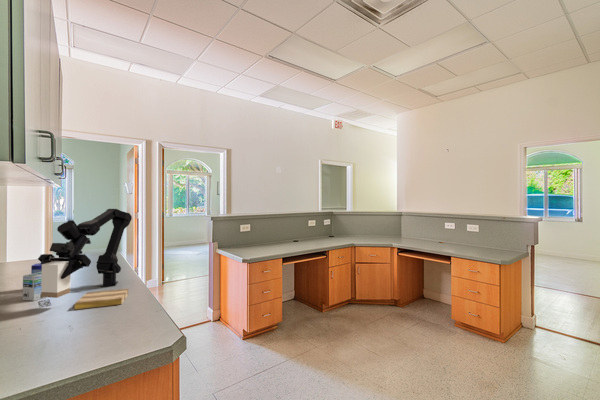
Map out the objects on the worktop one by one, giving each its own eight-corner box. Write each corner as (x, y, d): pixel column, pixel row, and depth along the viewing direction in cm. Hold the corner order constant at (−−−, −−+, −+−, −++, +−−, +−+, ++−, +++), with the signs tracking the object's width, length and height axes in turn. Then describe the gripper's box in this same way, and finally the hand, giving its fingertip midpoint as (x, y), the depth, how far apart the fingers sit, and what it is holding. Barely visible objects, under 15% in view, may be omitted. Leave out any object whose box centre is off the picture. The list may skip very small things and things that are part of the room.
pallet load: (54, 291, 117) (55, 260, 117) (70, 292, 117) (70, 261, 117) (41, 297, 111) (41, 264, 111) (57, 297, 111) (57, 264, 111)
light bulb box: (33, 301, 121) (33, 276, 121) (21, 300, 123) (21, 275, 123) (59, 293, 132) (59, 270, 132) (48, 292, 133) (48, 269, 133)
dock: (86, 298, 125) (86, 292, 125) (128, 294, 131) (128, 288, 131) (74, 309, 112) (74, 303, 112) (121, 304, 118) (121, 298, 118)
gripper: (42, 235, 118) (15, 267, 107) (86, 235, 118) (63, 267, 107) (58, 250, 126) (34, 282, 115) (99, 250, 126) (79, 282, 115)
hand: (52, 278), depth 113 cm, fingers closed on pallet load, 7 cm apart
